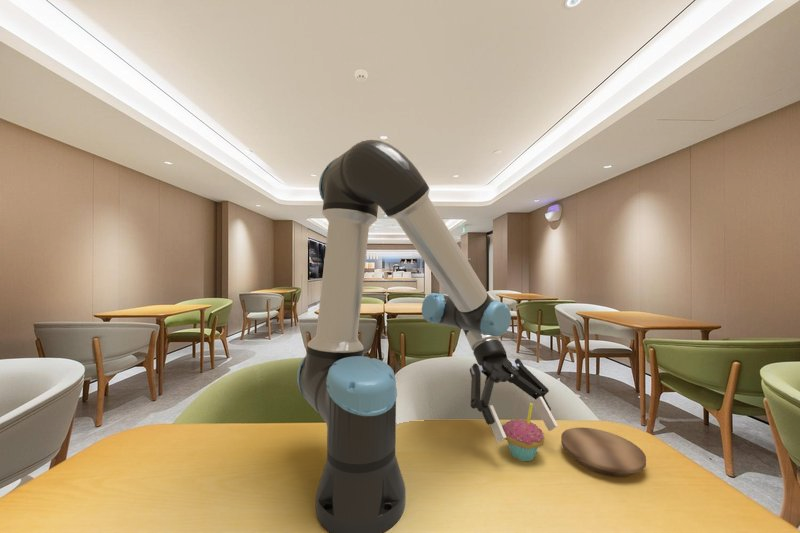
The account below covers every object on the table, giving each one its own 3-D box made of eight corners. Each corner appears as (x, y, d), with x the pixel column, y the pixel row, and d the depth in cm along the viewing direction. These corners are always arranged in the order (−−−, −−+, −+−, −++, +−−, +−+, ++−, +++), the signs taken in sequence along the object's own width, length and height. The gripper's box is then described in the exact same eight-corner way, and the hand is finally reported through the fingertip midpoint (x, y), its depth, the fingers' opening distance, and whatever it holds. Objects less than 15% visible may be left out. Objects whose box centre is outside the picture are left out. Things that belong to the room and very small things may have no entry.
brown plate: (586, 483, 59) (586, 467, 59) (548, 440, 74) (548, 427, 74) (666, 484, 59) (666, 468, 59) (612, 440, 74) (612, 427, 74)
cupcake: (536, 445, 72) (536, 392, 72) (550, 469, 64) (550, 409, 64) (497, 443, 73) (498, 390, 73) (506, 466, 65) (506, 407, 65)
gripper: (518, 349, 88) (562, 430, 74) (437, 358, 79) (470, 451, 65) (532, 334, 83) (583, 417, 69) (448, 342, 74) (486, 438, 60)
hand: (528, 434), depth 67 cm, fingers open, 13 cm apart
